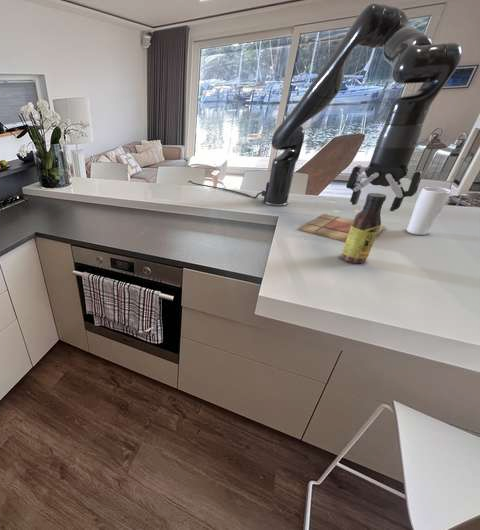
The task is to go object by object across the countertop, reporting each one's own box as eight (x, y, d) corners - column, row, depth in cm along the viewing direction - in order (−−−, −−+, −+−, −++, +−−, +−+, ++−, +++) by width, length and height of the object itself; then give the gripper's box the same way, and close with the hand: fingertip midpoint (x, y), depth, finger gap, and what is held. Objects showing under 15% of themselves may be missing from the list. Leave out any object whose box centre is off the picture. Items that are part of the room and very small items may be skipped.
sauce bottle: (360, 266, 83) (387, 199, 73) (336, 259, 88) (358, 195, 78) (369, 259, 86) (395, 194, 77) (345, 252, 91) (367, 190, 81)
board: (299, 229, 108) (300, 226, 107) (323, 216, 118) (324, 213, 117) (363, 246, 94) (364, 242, 93) (384, 228, 104) (385, 225, 103)
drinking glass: (426, 230, 100) (447, 187, 93) (432, 237, 95) (455, 193, 88) (401, 227, 103) (419, 186, 96) (405, 234, 98) (425, 191, 91)
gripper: (439, 143, 68) (410, 209, 76) (366, 141, 78) (347, 199, 86) (431, 148, 64) (401, 216, 72) (355, 144, 74) (337, 205, 82)
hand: (372, 207), depth 79 cm, fingers open, 8 cm apart
